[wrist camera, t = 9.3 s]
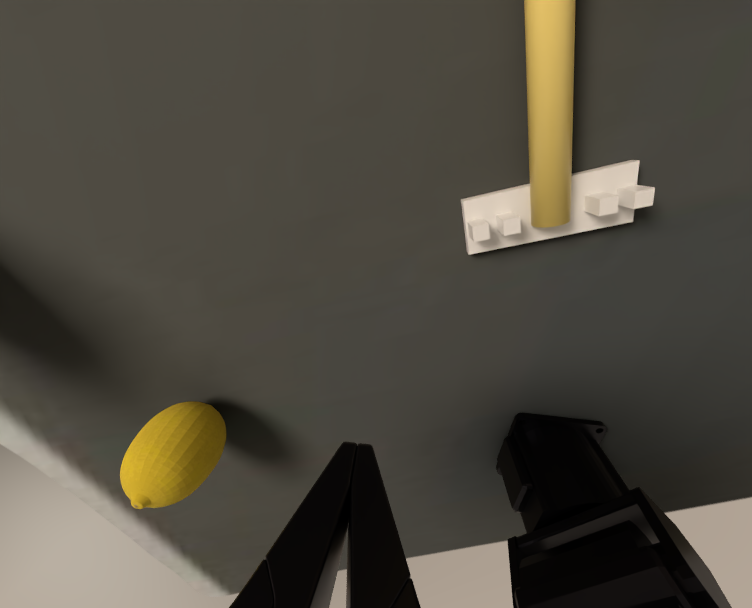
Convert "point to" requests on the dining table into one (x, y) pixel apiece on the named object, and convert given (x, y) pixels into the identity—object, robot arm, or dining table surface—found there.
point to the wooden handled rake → (552, 154)
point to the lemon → (173, 454)
